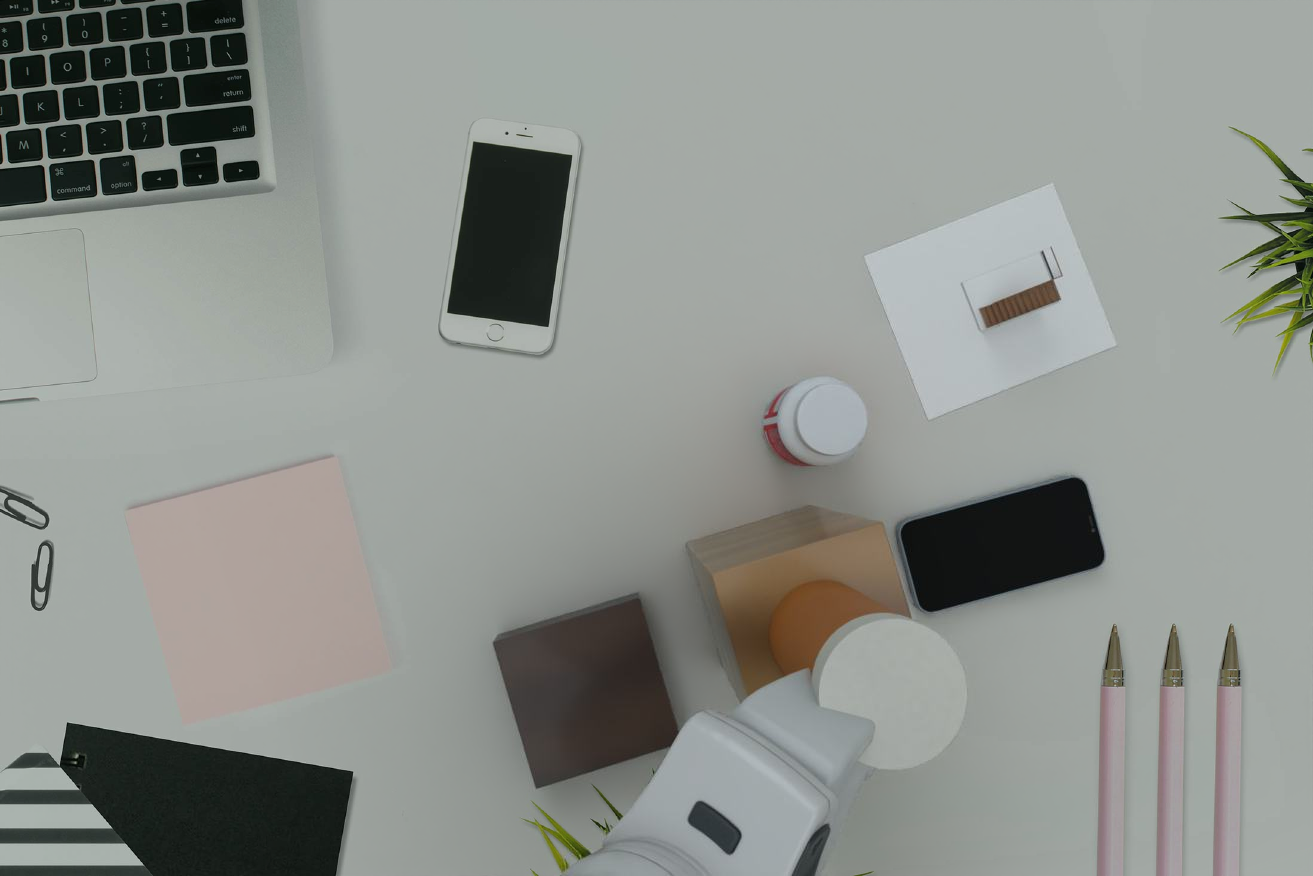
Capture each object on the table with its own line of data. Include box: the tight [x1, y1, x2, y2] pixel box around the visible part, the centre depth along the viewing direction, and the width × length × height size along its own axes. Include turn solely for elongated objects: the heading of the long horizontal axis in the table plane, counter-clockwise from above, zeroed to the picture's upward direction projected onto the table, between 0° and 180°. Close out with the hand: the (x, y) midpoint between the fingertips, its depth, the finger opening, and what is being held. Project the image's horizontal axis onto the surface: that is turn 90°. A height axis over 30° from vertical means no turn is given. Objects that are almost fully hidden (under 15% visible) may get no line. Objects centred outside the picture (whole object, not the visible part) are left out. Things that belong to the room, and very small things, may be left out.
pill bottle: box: [761, 375, 869, 467], centre depth 68 cm, size 6×6×11 cm
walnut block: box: [492, 592, 680, 790], centre depth 71 cm, size 11×11×3 cm
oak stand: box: [685, 504, 913, 704], centre depth 63 cm, size 10×10×20 cm
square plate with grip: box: [863, 182, 1118, 421], centre depth 71 cm, size 16×14×6 cm
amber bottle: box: [769, 580, 969, 771], centre depth 46 cm, size 6×6×14 cm
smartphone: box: [895, 475, 1107, 614], centre depth 73 cm, size 7×1×15 cm
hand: (830, 829), depth 49 cm, fingers open, 8 cm apart
